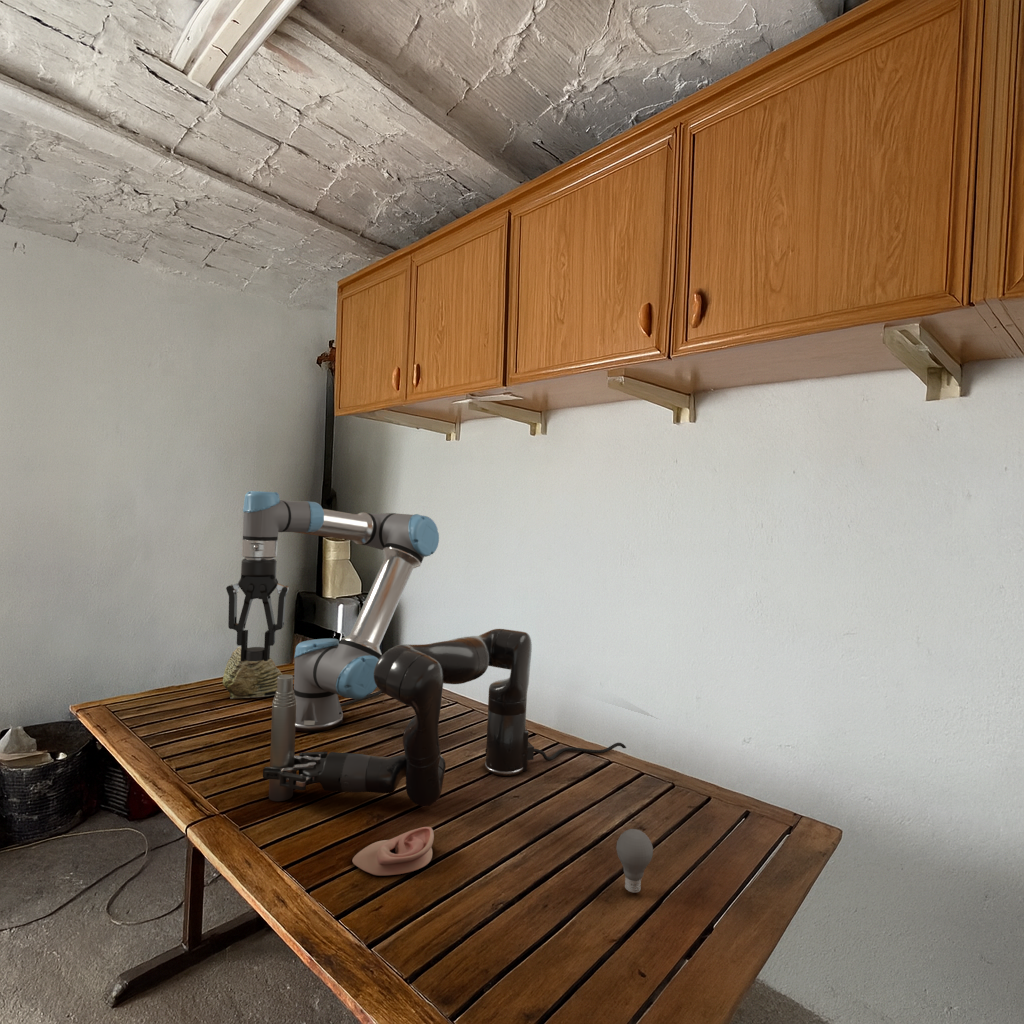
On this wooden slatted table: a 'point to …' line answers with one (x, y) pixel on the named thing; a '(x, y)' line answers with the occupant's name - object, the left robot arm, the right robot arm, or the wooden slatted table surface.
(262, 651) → the cap
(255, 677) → the fossil
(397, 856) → the anatomical model
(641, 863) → the light bulb
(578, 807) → the wooden slatted table surface
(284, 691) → the bottle
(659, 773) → the wooden slatted table surface
